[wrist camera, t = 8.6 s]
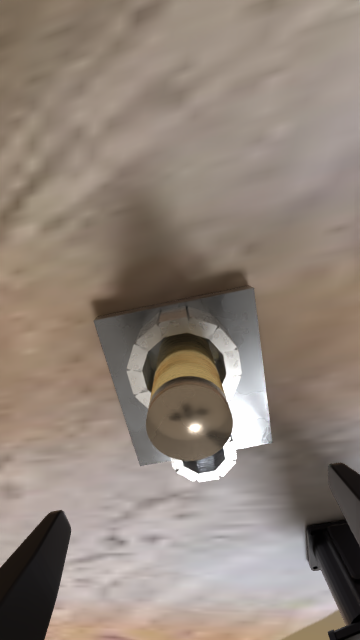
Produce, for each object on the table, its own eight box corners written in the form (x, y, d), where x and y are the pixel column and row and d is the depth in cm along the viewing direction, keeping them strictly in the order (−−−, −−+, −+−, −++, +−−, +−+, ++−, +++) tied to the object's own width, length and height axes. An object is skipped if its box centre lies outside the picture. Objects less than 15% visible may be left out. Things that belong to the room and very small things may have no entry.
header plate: (267, 432, 22) (287, 473, 18) (141, 455, 23) (134, 499, 19) (248, 285, 19) (269, 295, 14) (98, 316, 19) (77, 334, 15)
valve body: (214, 371, 19) (239, 452, 11) (165, 381, 19) (157, 467, 12) (205, 324, 18) (225, 379, 10) (153, 335, 18) (135, 396, 11)
